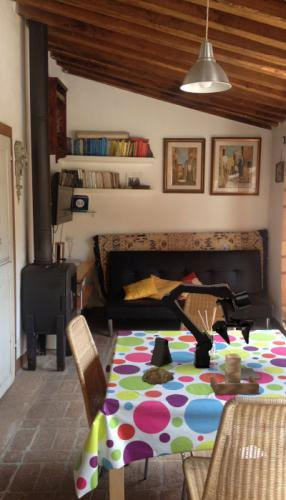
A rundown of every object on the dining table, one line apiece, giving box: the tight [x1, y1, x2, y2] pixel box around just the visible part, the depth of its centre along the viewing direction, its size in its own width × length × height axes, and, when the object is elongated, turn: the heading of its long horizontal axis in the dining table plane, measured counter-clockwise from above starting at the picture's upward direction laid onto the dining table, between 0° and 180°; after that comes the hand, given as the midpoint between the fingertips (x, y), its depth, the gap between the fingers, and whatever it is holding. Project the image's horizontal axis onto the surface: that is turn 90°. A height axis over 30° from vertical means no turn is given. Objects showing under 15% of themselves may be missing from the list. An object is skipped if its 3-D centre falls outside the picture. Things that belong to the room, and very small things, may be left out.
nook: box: [209, 376, 260, 396], centre depth 176 cm, size 17×9×4 cm, turn 93°
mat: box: [240, 367, 261, 381], centre depth 192 cm, size 12×12×1 cm
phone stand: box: [149, 336, 174, 368], centre depth 204 cm, size 9×6×12 cm, turn 132°
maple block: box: [224, 353, 242, 383], centre depth 178 cm, size 5×5×13 cm
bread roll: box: [141, 366, 175, 386], centre depth 186 cm, size 13×12×5 cm
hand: (238, 344), depth 188 cm, fingers open, 9 cm apart
